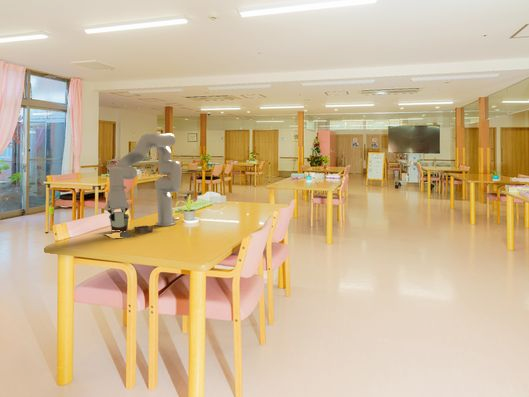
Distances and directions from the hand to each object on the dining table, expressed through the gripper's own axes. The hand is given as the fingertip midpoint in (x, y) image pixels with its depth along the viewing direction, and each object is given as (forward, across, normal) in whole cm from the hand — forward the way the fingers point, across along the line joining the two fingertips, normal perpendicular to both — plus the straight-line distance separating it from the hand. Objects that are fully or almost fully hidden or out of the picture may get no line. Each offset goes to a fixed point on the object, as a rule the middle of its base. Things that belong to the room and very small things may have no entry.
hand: (117, 219), depth 225 cm
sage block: (+4, 0, 0) cm, 4 cm away
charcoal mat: (+9, 0, 0) cm, 9 cm away
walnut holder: (+9, -15, 0) cm, 18 cm away
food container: (+9, -7, -14) cm, 18 cm away
